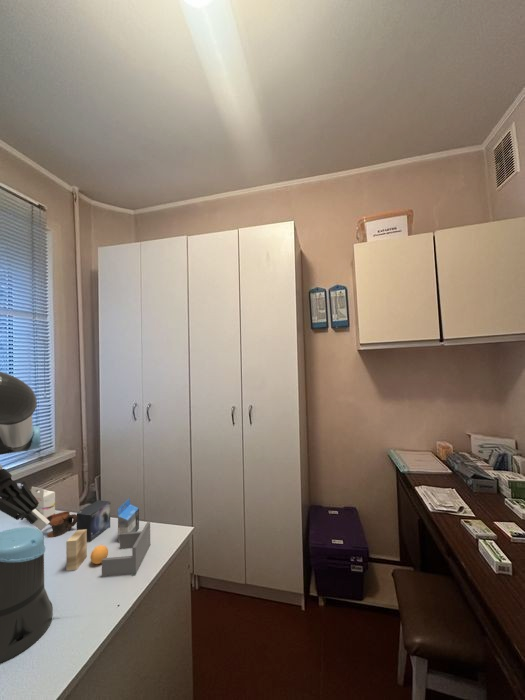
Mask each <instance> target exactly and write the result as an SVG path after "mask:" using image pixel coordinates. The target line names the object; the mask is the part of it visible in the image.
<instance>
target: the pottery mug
mask: <svg viewBox="0 0 525 700" xmlns="http://www.w3.org/2000/svg"><path fill="white" fill-rule="evenodd" d="M47 519H48V520H49V521H50V523H49V524H48V525H49V526H51V529H52V530H51V531H50V532H48V533H47V538H53V539H54V538H57V537H60V536H63V535H64V534H66V533H67V531H68V530H69V531H70V530H72V529H73V528H72V527H74V526H75V525H77V513H76V514H75V513H74V514H70V511H69V510H68V511H61V512H58V513H55V515H52V516H49V517H48V518H47Z"/></svg>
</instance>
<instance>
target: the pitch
mask: <svg viewBox="0 0 525 700" xmlns="http://www.w3.org/2000/svg"><path fill="white" fill-rule="evenodd" d="M150 547H151V521H147V522H146V524H145V525H144V527H143V529H142V530H140V531H139V530H138V531H137V532H126V533H121V534H120V542H119V549H121V550H123V549H132V550H131V551H132V552H131V553H132V555H128V556H127V555H125V556H123V555H122V556H114V557H111V556H110V557H107V558H103V559H102V563H101V578H104V577H105V578H106V577H117V576H127V575H131V576H132V577H136V576H137V573H138V572H139V569H140V567H141V565H142V563H143V561H144V559H145V557H146V555H147V553H148V551H149V549H150Z"/></svg>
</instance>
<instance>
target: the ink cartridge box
mask: <svg viewBox="0 0 525 700" xmlns="http://www.w3.org/2000/svg"><path fill="white" fill-rule="evenodd" d="M30 491H31V493H32V494H33V495H34V497H35V498H36V499H37V501H38V502H39V504H38V506H37V507H36V508H37V509H38V510H39V511H40V512H41V513H42V514H43V516H44V517H45V518H46V519H47V518H48V517H49V516H52V515H55V514H56V491H51V490H47V489H44V488H41V487H39V486H38V487H36V486H31V490H30Z"/></svg>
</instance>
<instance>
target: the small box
mask: <svg viewBox="0 0 525 700" xmlns="http://www.w3.org/2000/svg"><path fill="white" fill-rule="evenodd" d="M76 515H77V522H76V531H77V530H85V529H87V543H91V542H92V541H94V540H95V539H96V538H97V537H99V536H100V535H101V534H103V533H104V532H105V531H106V530H108V529H110V528H111V501H108V500H101V499H98V500H96V501H94V502H93V503H91V504H89V505H88V506H87V507H85V508H84V507H83V509H81V510H80V511H78V512H76Z"/></svg>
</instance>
